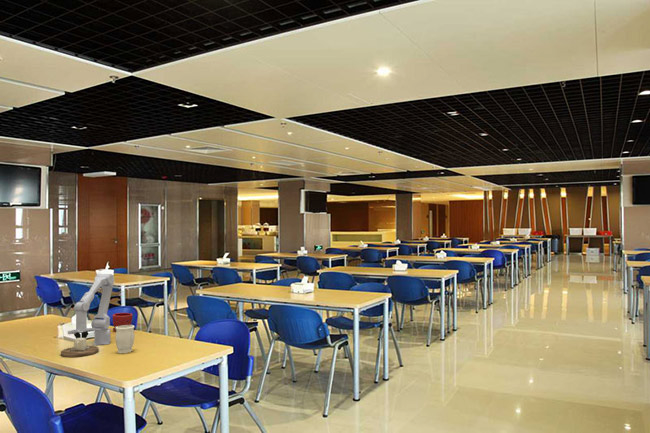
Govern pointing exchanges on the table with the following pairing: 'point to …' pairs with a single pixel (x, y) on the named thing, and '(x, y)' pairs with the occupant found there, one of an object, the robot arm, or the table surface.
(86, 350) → the turntable
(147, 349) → the table surface
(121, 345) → the jar
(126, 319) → the plant pot
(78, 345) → the beige block
